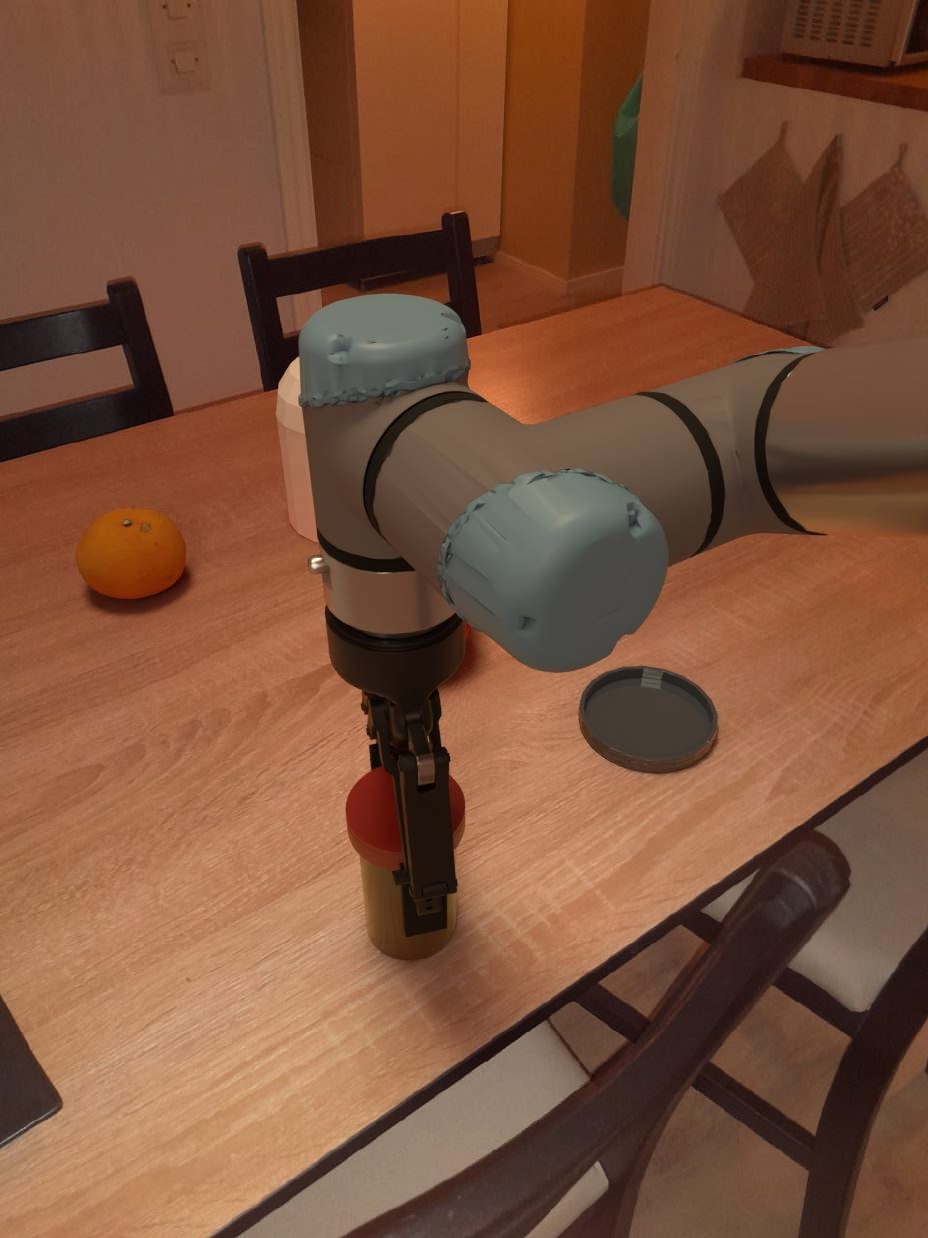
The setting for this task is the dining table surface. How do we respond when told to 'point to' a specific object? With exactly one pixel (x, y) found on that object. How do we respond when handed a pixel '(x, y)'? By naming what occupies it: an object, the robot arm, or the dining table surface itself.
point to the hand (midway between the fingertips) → (408, 865)
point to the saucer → (647, 719)
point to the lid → (388, 818)
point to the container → (295, 454)
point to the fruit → (131, 553)
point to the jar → (398, 917)
